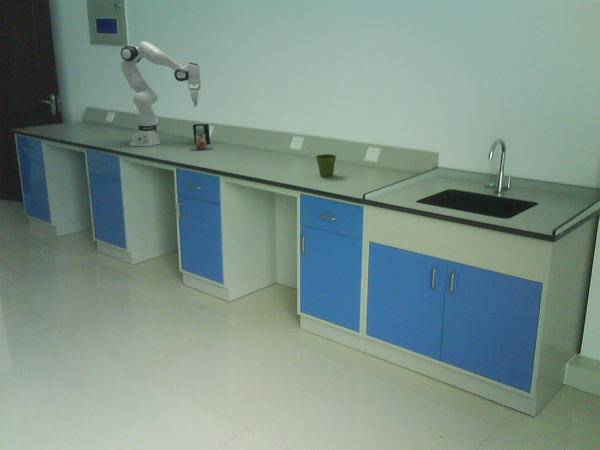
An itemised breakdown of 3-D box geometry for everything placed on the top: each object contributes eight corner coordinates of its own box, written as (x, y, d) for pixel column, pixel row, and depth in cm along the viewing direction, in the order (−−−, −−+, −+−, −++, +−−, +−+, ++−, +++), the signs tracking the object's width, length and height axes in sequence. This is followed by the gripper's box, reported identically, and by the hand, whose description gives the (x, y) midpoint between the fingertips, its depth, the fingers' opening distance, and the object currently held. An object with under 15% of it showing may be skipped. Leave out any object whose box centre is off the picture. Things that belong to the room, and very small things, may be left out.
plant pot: (312, 175, 344) (311, 156, 340) (329, 172, 349) (329, 153, 346) (323, 179, 334) (323, 159, 330) (340, 176, 339) (340, 156, 336)
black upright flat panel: (210, 144, 444) (208, 123, 439) (209, 145, 440) (207, 124, 435) (195, 144, 445) (194, 123, 441) (194, 145, 441) (192, 124, 437)
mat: (189, 152, 417) (189, 151, 417) (190, 148, 429) (190, 148, 428) (212, 150, 419) (212, 150, 419) (213, 147, 430) (213, 147, 430)
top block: (196, 143, 419) (195, 135, 417) (196, 141, 425) (196, 134, 423) (205, 142, 420) (204, 135, 418) (205, 141, 425) (204, 134, 424)
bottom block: (196, 150, 420) (195, 143, 418) (196, 148, 427) (196, 141, 425) (206, 149, 421) (205, 142, 419) (206, 147, 427) (206, 141, 426)
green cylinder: (196, 135, 418) (195, 127, 416) (196, 134, 423) (195, 126, 421) (204, 135, 418) (203, 126, 416) (204, 134, 423) (203, 125, 422)
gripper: (190, 84, 441) (192, 103, 446) (189, 87, 422) (190, 107, 426) (199, 84, 442) (200, 103, 446) (198, 87, 423) (199, 107, 427)
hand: (195, 105), depth 436 cm, fingers open, 8 cm apart
